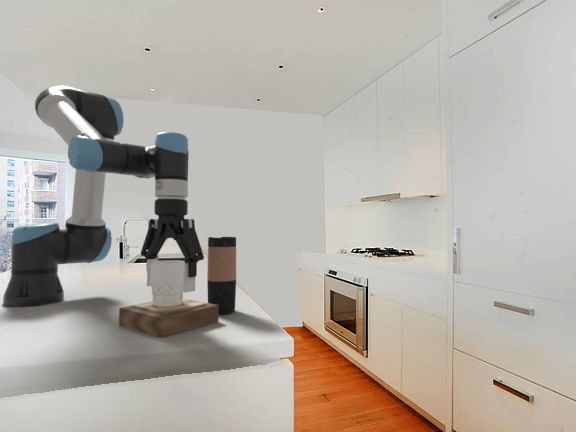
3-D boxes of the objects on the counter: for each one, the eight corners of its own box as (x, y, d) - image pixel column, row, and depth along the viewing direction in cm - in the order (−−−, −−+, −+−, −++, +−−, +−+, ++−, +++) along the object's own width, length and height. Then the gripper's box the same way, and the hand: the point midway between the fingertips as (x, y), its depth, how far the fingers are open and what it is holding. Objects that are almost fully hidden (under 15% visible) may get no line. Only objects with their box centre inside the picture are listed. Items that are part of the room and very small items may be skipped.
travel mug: (230, 315, 99) (230, 237, 99) (202, 314, 100) (203, 237, 101) (239, 309, 106) (240, 236, 107) (213, 308, 108) (214, 236, 108)
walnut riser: (119, 325, 89) (119, 305, 89) (175, 312, 102) (175, 295, 102) (162, 337, 80) (162, 315, 80) (218, 321, 93) (218, 303, 93)
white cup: (166, 309, 86) (166, 264, 86) (142, 305, 90) (143, 262, 90) (192, 303, 92) (192, 261, 93) (169, 299, 96) (169, 259, 97)
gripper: (126, 199, 96) (125, 285, 95) (194, 195, 81) (193, 296, 81) (152, 201, 102) (151, 281, 101) (220, 198, 87) (219, 291, 87)
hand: (170, 288), depth 91 cm, fingers open, 13 cm apart
